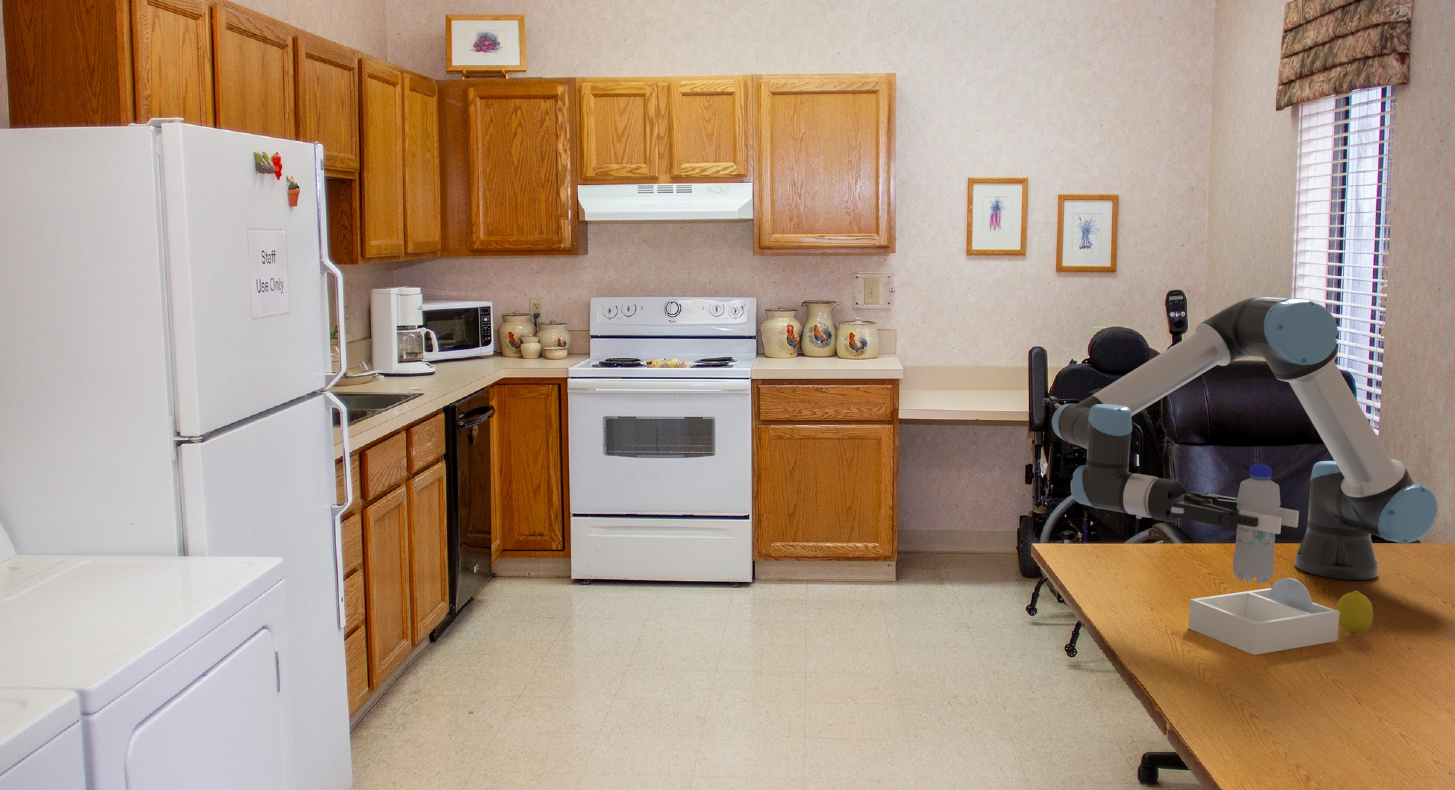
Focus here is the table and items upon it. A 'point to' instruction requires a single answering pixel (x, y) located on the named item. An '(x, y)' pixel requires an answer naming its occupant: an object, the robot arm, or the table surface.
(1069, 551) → the table surface
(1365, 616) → the lemon
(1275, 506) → the bottle
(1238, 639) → the divided tray
